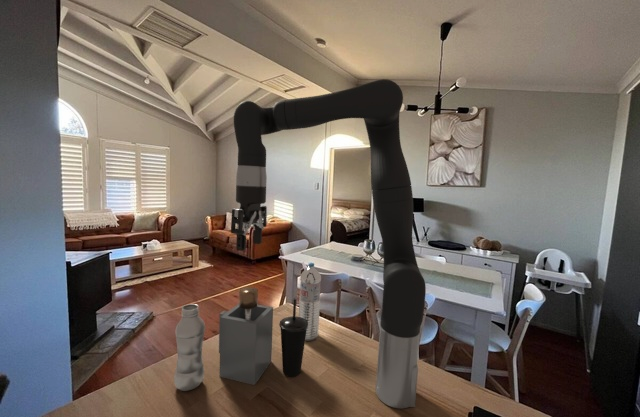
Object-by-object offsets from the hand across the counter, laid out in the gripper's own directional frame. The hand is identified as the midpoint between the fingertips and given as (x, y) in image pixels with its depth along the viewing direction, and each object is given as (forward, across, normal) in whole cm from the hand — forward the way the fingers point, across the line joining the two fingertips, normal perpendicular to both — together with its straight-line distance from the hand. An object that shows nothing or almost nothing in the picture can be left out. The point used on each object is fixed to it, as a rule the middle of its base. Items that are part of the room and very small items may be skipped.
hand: (249, 246), depth 73 cm
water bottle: (+34, +21, -11) cm, 41 cm away
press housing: (+34, 0, +1) cm, 34 cm away
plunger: (+32, 0, 0) cm, 32 cm away
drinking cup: (+34, +3, -12) cm, 36 cm away
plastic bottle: (+34, -10, +10) cm, 37 cm away
